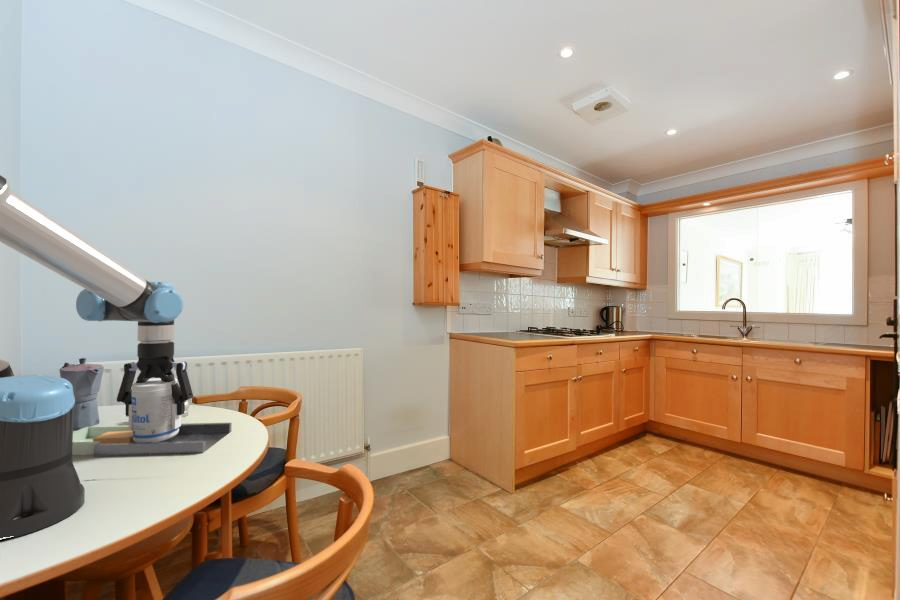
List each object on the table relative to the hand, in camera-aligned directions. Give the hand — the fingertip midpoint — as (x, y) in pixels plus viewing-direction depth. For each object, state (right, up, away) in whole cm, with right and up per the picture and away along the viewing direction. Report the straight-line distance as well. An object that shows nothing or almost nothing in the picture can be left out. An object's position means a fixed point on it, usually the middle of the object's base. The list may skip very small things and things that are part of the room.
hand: (155, 428), depth 98 cm
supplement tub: (0, -3, +1) cm, 3 cm away
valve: (-13, -5, +21) cm, 25 cm away
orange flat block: (-7, -4, -1) cm, 8 cm away
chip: (-11, -4, -1) cm, 11 cm away
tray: (-15, -4, -2) cm, 15 cm away
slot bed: (+3, -4, 0) cm, 5 cm away
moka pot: (-33, -4, +13) cm, 35 cm away
